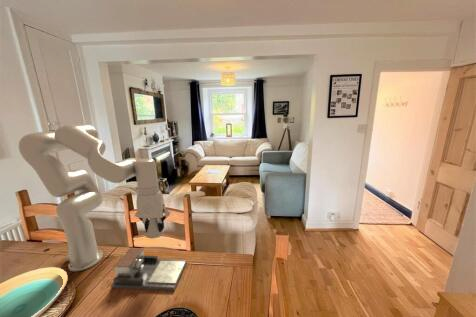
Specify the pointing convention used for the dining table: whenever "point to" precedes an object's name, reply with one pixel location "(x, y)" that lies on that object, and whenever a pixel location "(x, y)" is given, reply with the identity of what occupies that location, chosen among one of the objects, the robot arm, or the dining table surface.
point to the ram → (130, 263)
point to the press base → (154, 275)
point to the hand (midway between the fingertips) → (155, 229)
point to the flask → (154, 229)
